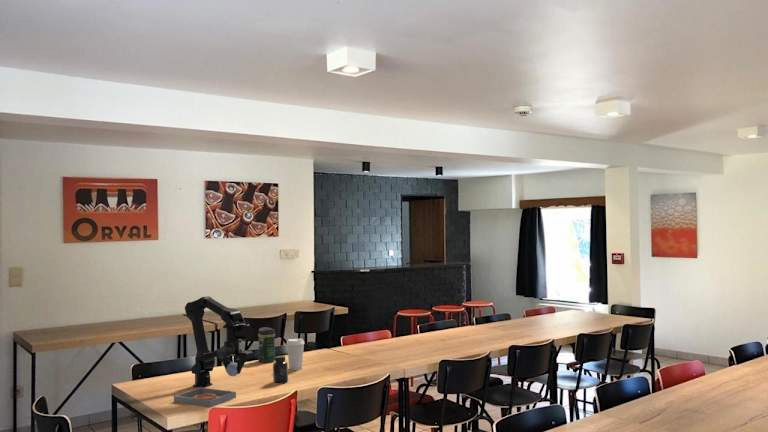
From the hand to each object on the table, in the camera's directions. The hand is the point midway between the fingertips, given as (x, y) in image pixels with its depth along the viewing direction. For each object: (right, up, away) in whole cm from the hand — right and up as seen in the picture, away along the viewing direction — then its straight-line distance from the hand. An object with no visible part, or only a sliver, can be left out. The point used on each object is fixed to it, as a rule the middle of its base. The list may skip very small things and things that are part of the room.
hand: (233, 373), depth 289 cm
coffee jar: (+3, -9, +64) cm, 65 cm away
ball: (0, +2, 0) cm, 2 cm away
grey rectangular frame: (-8, -8, -15) cm, 19 cm away
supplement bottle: (+19, -8, +15) cm, 25 cm away
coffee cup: (+22, -9, +44) cm, 50 cm away
